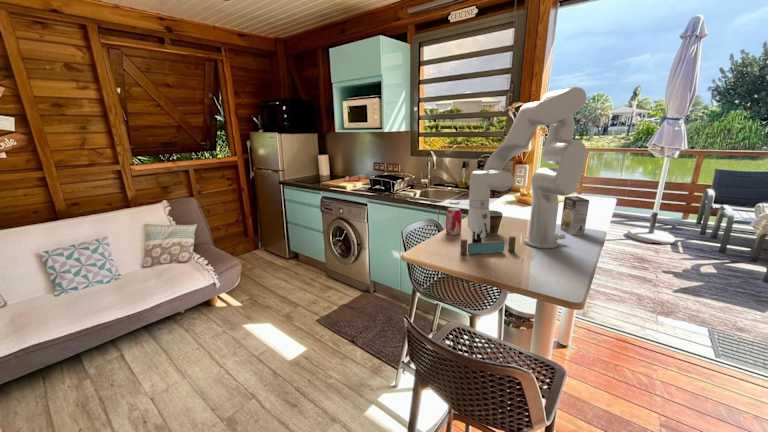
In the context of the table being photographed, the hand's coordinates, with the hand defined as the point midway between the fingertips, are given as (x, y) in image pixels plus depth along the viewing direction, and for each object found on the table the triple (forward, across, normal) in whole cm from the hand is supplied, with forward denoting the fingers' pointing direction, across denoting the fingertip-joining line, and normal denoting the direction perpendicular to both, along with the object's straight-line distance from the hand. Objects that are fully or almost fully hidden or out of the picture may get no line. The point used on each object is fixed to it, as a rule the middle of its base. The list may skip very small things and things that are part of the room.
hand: (476, 247), depth 122 cm
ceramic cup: (+1, +18, -15) cm, 24 cm away
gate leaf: (+1, -4, -2) cm, 4 cm away
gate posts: (+1, -4, -3) cm, 5 cm away
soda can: (+1, +23, 0) cm, 23 cm away
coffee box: (+1, +10, -53) cm, 54 cm away
